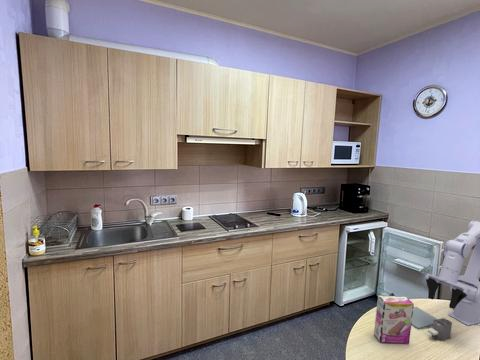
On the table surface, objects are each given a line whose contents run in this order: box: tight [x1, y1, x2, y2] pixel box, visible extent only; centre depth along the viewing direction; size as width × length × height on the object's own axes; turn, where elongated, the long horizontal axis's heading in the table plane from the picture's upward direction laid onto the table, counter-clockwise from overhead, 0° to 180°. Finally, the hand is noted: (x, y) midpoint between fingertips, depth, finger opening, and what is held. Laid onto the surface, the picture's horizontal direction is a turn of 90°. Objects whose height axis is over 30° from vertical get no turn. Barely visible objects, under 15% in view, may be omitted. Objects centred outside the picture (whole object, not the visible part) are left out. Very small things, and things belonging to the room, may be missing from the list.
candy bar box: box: [373, 295, 415, 345], centre depth 95 cm, size 11×5×16 cm, turn 89°
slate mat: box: [411, 306, 438, 331], centre depth 110 cm, size 14×11×1 cm
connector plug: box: [427, 317, 453, 342], centre depth 98 cm, size 10×4×6 cm, turn 108°
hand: (440, 303), depth 98 cm, fingers open, 7 cm apart
